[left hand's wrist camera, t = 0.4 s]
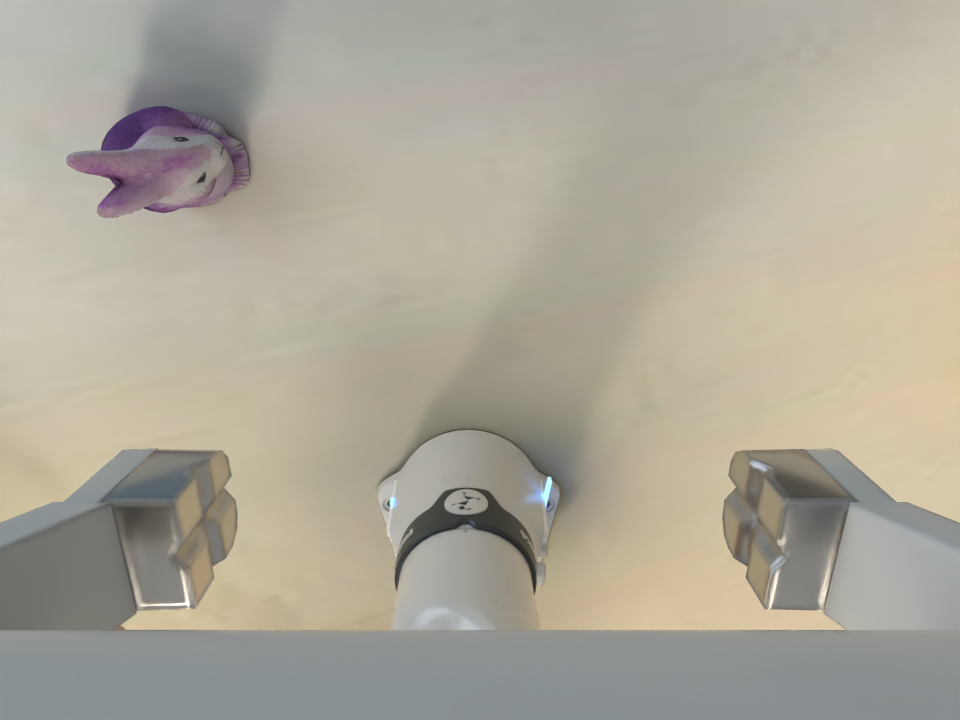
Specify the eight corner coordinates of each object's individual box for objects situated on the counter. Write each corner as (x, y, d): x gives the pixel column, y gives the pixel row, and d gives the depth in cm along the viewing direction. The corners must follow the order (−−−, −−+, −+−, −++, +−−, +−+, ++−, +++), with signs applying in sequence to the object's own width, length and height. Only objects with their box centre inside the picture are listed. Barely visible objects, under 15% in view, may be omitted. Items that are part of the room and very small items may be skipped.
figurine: (278, 155, 53) (205, 166, 39) (204, 238, 55) (110, 276, 41) (189, 66, 50) (77, 43, 36) (115, 157, 53) (-16, 168, 39)
